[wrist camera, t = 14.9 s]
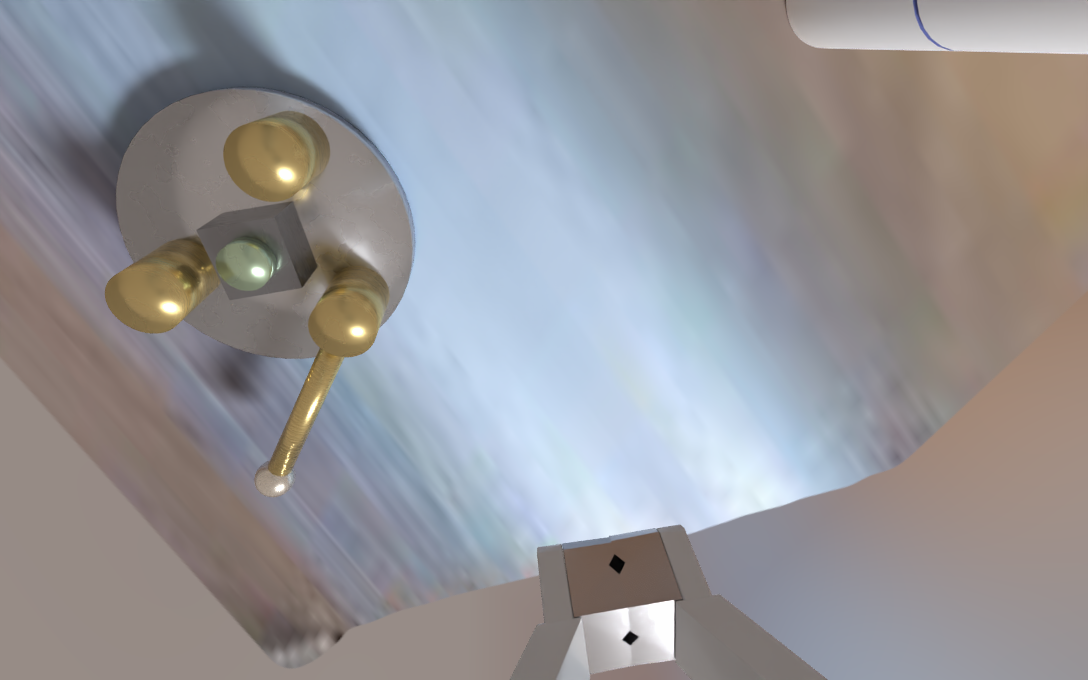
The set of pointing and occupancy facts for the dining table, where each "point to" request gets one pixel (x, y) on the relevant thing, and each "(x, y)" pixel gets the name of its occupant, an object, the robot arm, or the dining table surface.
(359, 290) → the brass lever handle
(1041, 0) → the cylindrical container
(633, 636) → the robot arm
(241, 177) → the tribrach
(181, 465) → the dining table surface
